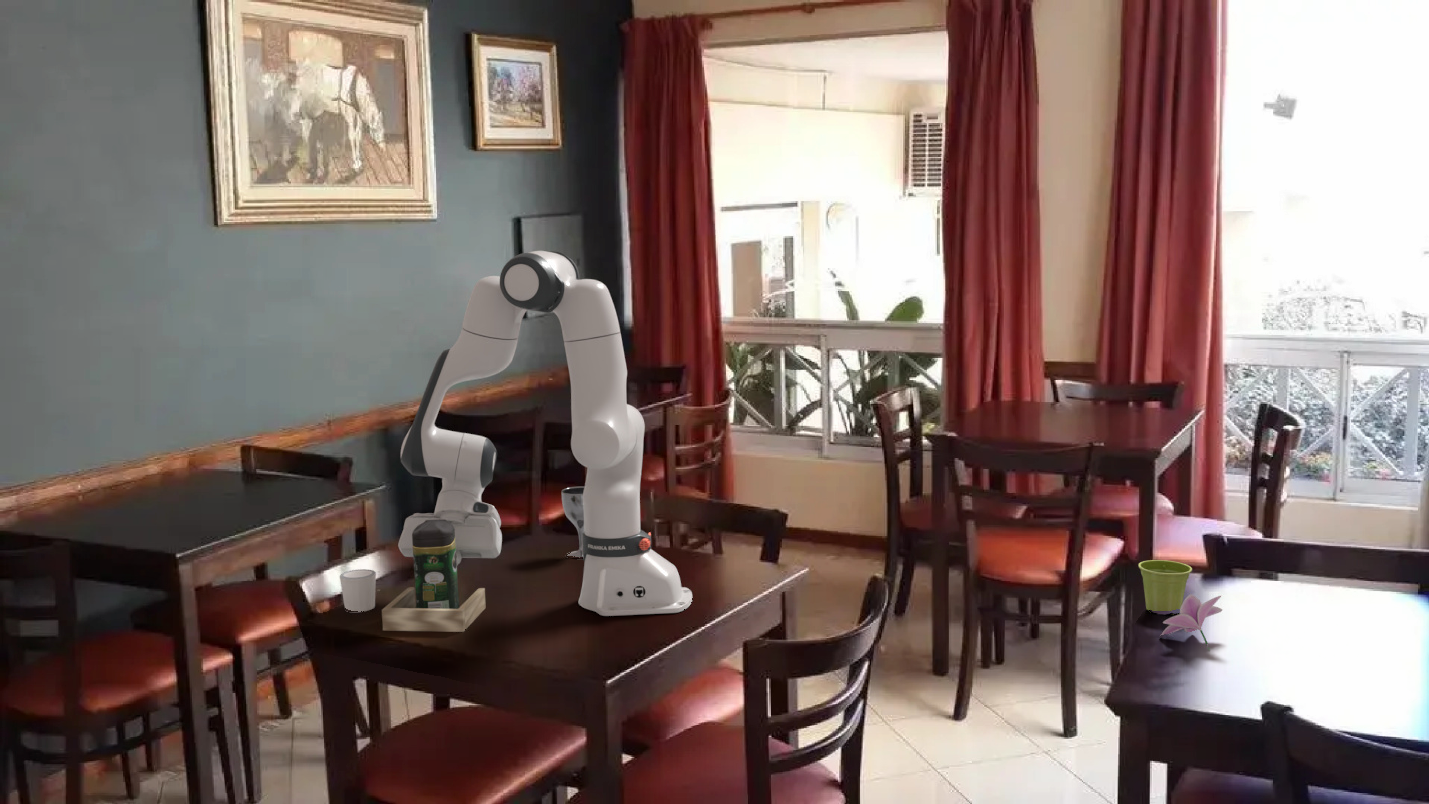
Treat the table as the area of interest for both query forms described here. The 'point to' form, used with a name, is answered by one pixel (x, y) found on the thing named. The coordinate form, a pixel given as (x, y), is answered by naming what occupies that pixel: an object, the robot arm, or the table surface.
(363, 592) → the white cup
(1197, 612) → the lily
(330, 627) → the table surface
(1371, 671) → the table surface
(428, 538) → the coffee jar
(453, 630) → the bay
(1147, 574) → the plant pot
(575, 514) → the wine glass
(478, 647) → the table surface
